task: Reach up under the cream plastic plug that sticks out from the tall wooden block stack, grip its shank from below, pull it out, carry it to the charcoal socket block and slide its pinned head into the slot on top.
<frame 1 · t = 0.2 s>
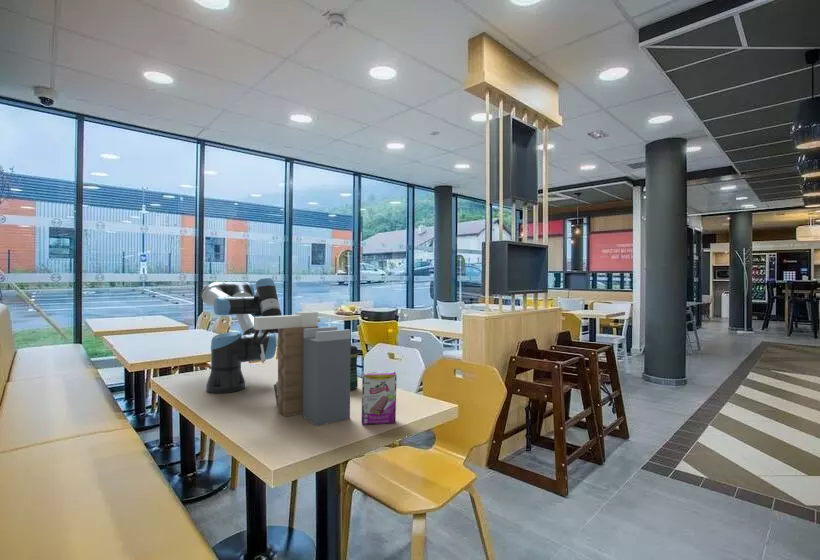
hand: (281, 359, 165), 16 cm above the table, tool tilted 35°, fingers open, 13 cm apart
coffee jar: (346, 388, 184), on the table
socket block: (326, 417, 145), on the table
candy bar box: (378, 422, 141), on the table
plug: (281, 327, 148), point 30 cm above the table, touching tall wooden block stack
tall wooden block stack: (297, 410, 152), on the table
electrical switch: (286, 404, 161), on the table
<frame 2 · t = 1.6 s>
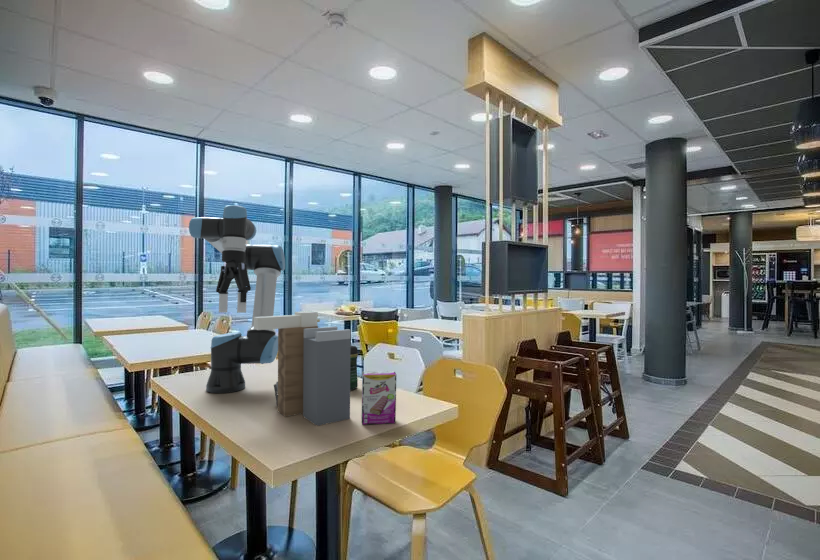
hand: (232, 312, 146), 35 cm above the table, tool pointing down, fingers open, 13 cm apart
nothing on the table moved.
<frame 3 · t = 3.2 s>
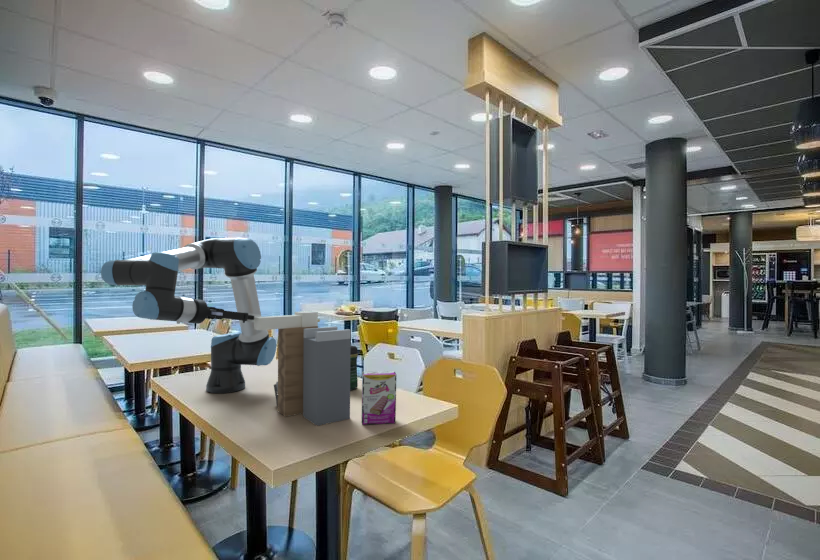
hand: (246, 317, 150), 33 cm above the table, tool horizontal, fingers open, 13 cm apart
nothing on the table moved.
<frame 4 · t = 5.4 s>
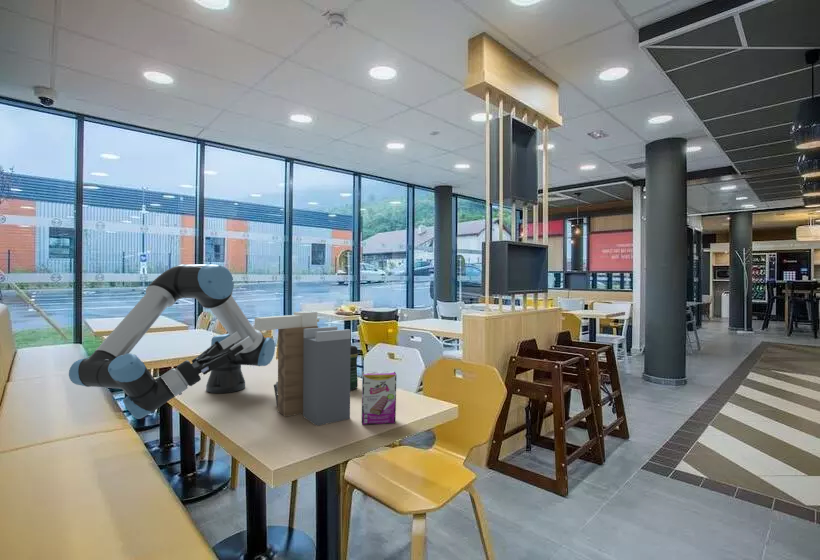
hand: (245, 337, 141), 28 cm above the table, tool pointing upward, fingers open, 13 cm apart
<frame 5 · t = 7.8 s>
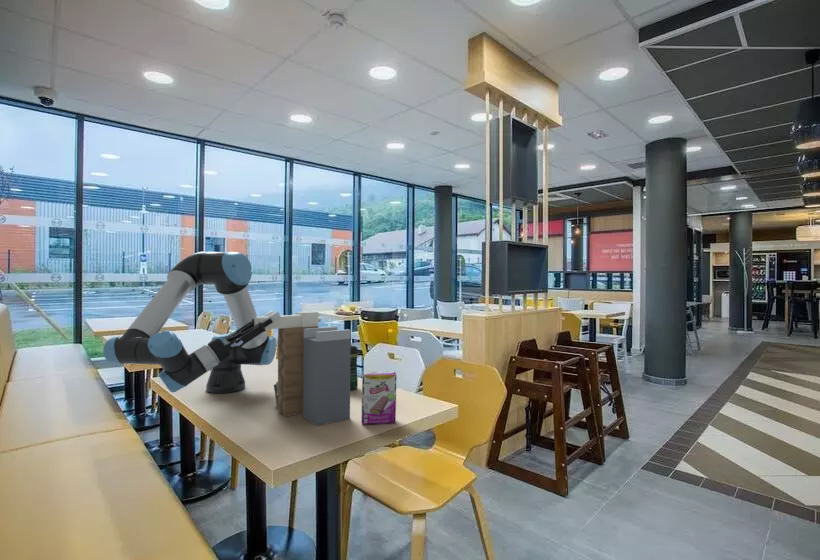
hand: (276, 314, 147), 35 cm above the table, tool pointing upward, fingers closed on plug, 4 cm apart
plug: (282, 327, 148), point 30 cm above the table, touching gripper, tall wooden block stack
everything else where it was.
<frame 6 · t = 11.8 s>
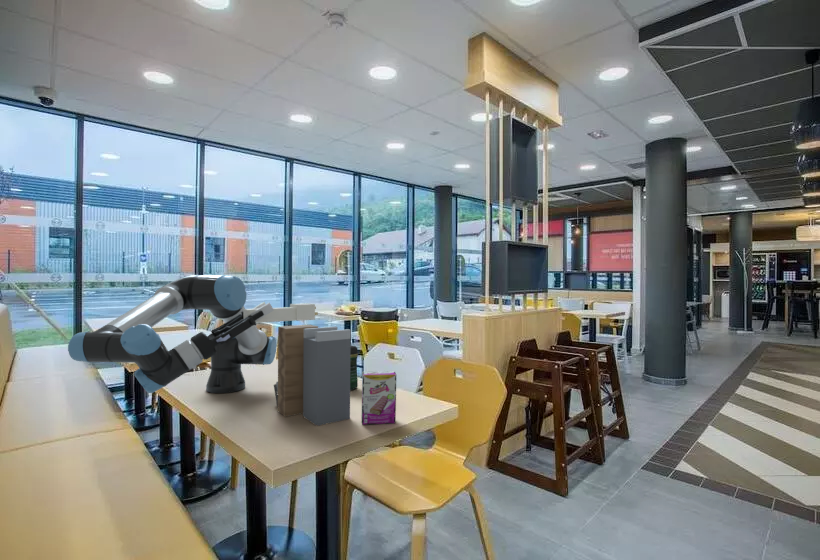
hand: (268, 306, 133), 39 cm above the table, tool pointing upward, fingers closed on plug, 4 cm apart
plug: (274, 321, 134), point 34 cm above the table, touching gripper
everything else where it was.
when the fingers open (32 cm above the table, at t = 15.9 s): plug stays where it is, resting on socket block.
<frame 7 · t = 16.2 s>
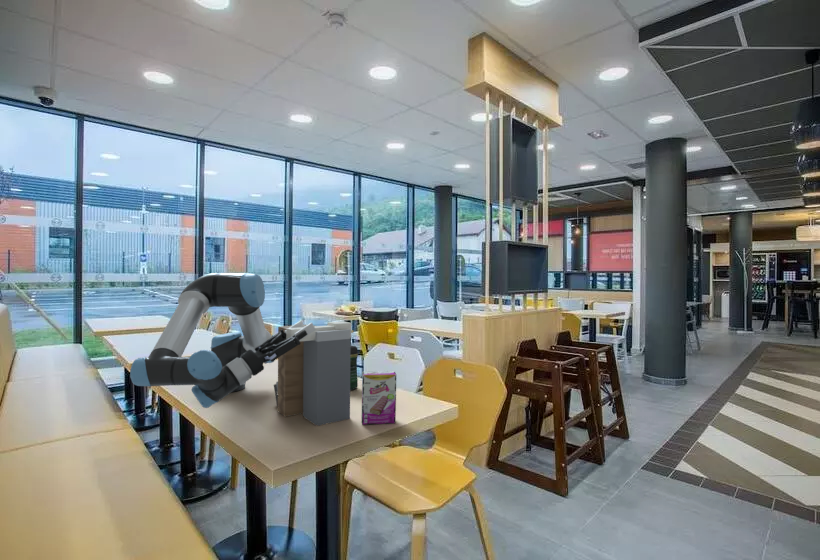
hand: (308, 324, 141), 32 cm above the table, tool pointing upward, fingers open, 8 cm apart
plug: (314, 339, 142), point 27 cm above the table, touching socket block
everything else where it was.
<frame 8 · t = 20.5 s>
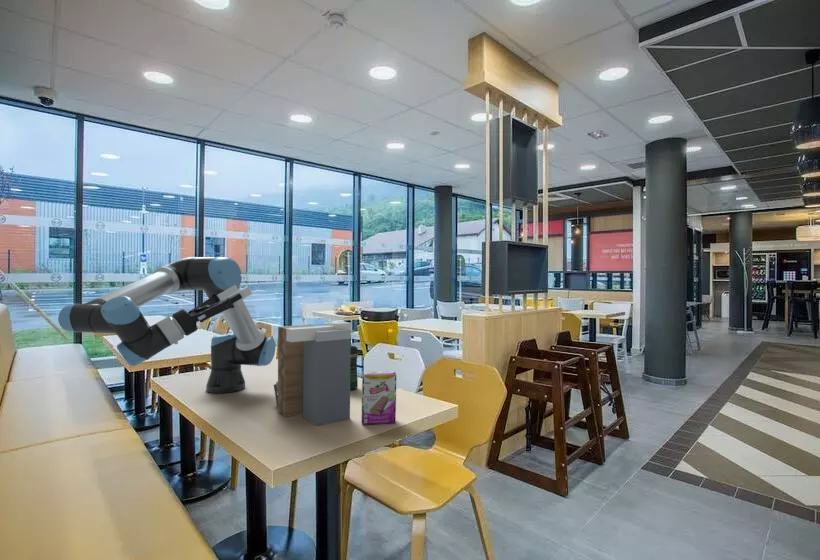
hand: (243, 289, 136), 44 cm above the table, tool pointing upward, fingers open, 13 cm apart
nothing on the table moved.
at the end: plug inside the target area on the socket block (1.1 cm from its centre), point 27.0 cm above the socket block's base; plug tilted 0°; the gripper is holding nothing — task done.
